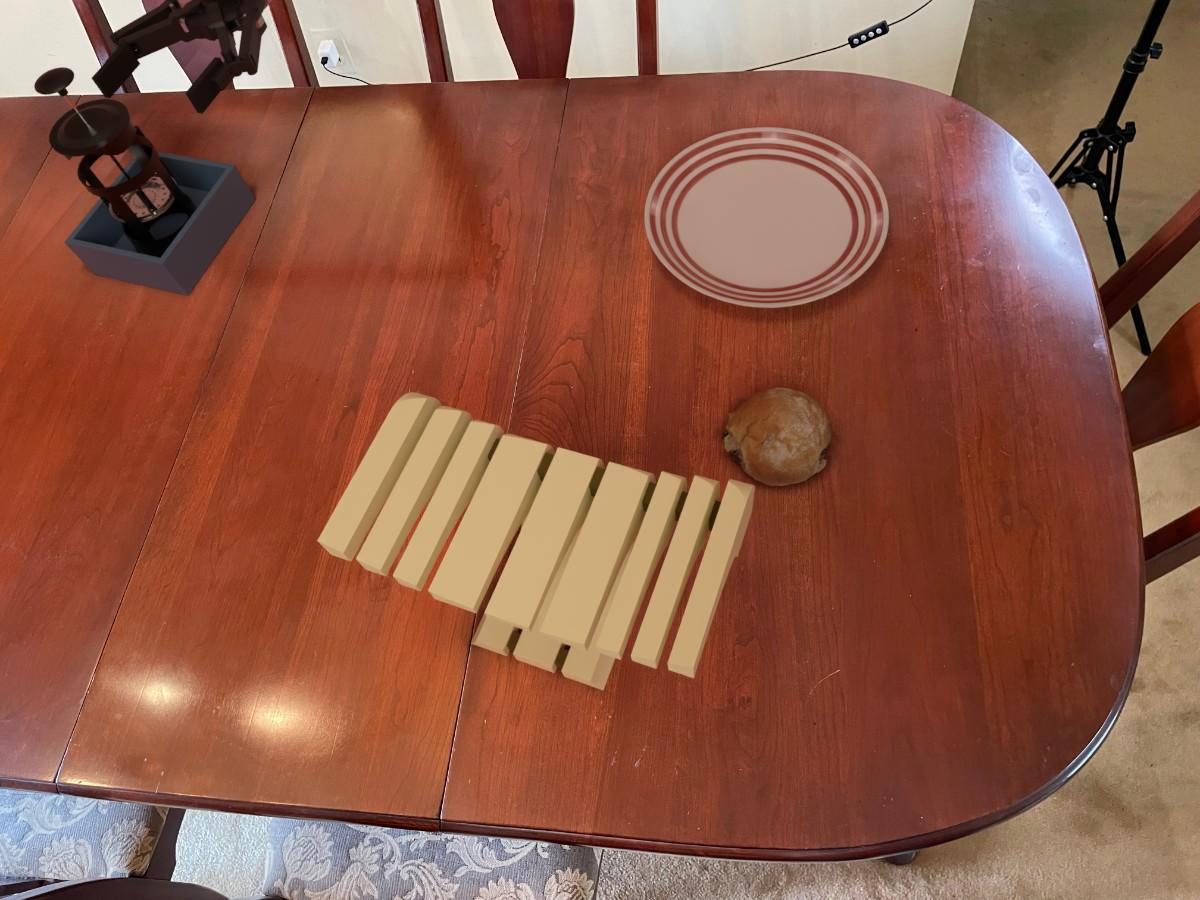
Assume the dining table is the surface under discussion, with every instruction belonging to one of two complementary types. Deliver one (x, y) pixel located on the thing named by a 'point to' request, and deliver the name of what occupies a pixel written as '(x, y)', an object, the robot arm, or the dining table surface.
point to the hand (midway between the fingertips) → (146, 96)
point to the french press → (117, 163)
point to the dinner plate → (766, 217)
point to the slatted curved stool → (541, 539)
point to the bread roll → (779, 436)
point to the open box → (168, 228)
